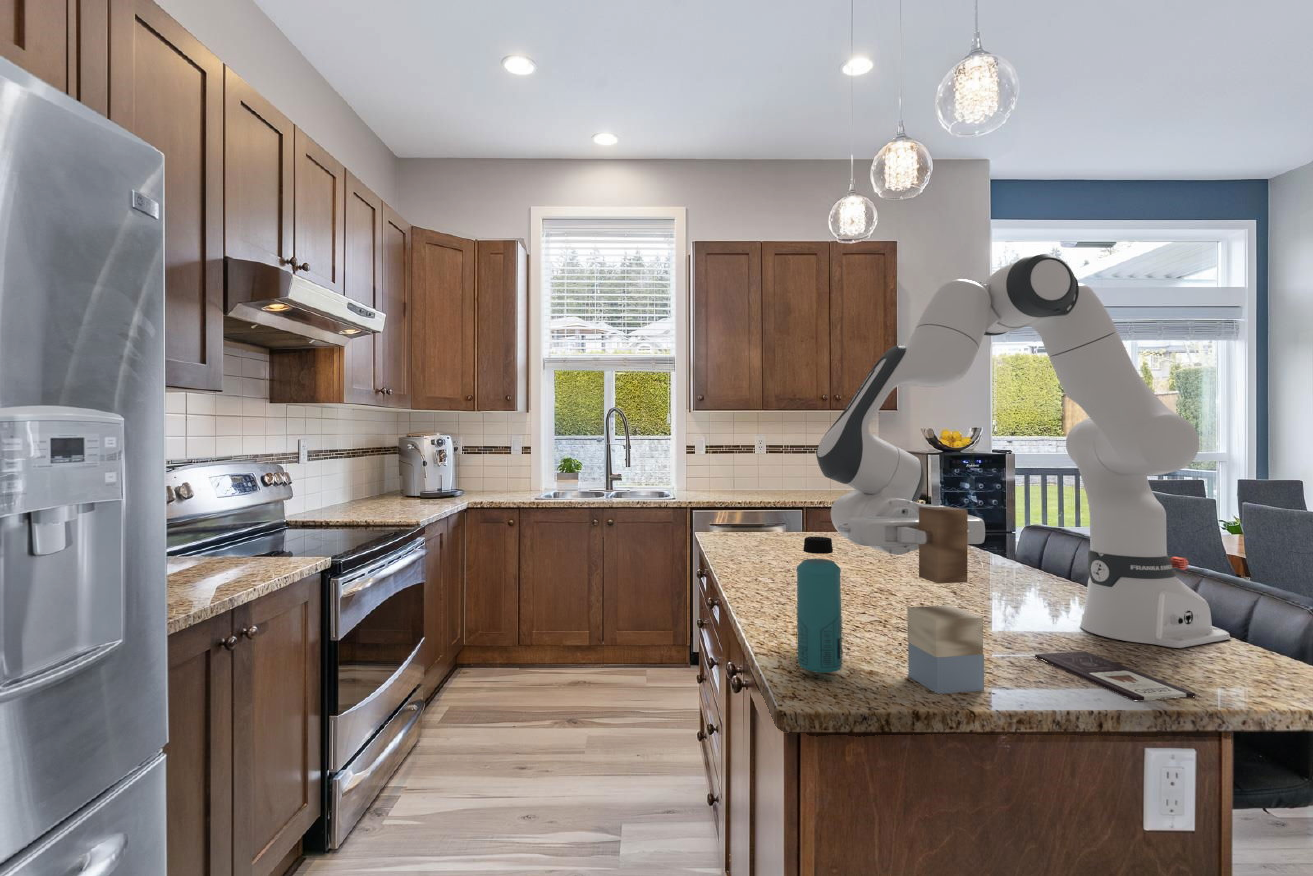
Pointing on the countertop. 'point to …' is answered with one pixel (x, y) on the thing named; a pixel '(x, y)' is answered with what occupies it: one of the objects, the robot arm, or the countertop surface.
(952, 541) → the pillar
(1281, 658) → the countertop surface
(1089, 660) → the chocolate bar
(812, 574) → the beverage bottle
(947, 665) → the tower base
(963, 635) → the tower top
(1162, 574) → the robot arm
